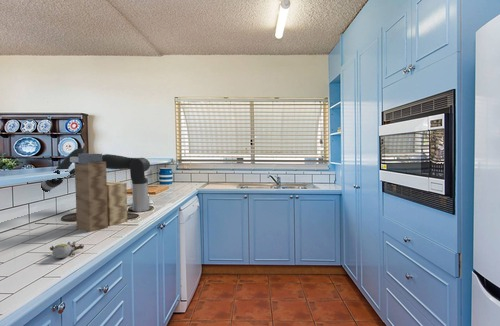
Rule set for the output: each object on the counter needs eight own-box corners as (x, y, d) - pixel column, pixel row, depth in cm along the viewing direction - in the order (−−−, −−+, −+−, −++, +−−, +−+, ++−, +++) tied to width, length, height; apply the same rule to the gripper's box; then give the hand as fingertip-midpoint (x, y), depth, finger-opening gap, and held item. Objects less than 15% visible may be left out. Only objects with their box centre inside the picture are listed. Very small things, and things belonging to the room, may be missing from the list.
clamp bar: (79, 162, 162) (79, 153, 161) (102, 163, 150) (102, 153, 150) (65, 163, 156) (65, 153, 155) (88, 164, 144) (88, 154, 144)
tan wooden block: (114, 218, 170) (113, 181, 169) (127, 221, 163) (126, 183, 162) (96, 222, 162) (95, 183, 160) (110, 225, 155) (109, 185, 154)
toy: (88, 237, 125) (77, 244, 110) (87, 250, 124) (76, 259, 110) (55, 239, 122) (39, 246, 107) (54, 252, 121) (39, 261, 107)
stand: (94, 224, 158) (92, 160, 156) (107, 227, 152) (106, 161, 150) (76, 228, 151) (74, 161, 149) (90, 231, 144) (88, 162, 142)
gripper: (66, 185, 175) (82, 175, 167) (40, 189, 162) (55, 179, 155) (63, 173, 176) (78, 163, 168) (36, 176, 163) (51, 165, 155)
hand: (67, 170), depth 161 cm, fingers open, 8 cm apart
